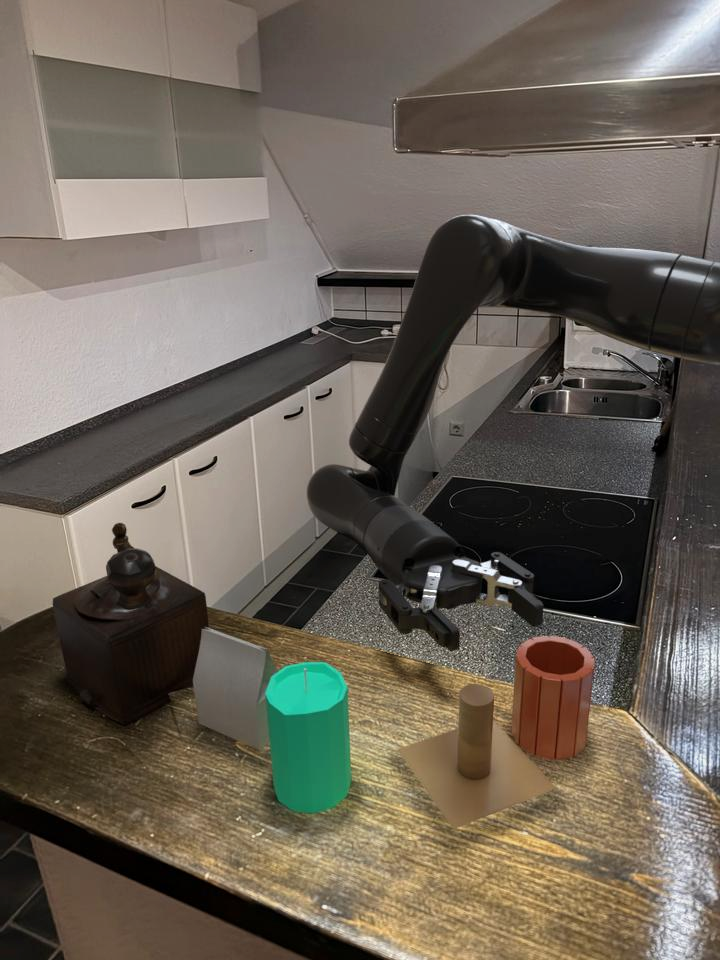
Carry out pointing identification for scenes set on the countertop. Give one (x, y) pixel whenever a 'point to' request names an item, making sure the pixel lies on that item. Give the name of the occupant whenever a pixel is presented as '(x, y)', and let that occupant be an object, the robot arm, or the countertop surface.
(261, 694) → the tea bag
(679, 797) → the countertop surface
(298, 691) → the candle
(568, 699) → the hollow cylinder
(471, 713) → the ring holder
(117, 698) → the brown coffee grinder
